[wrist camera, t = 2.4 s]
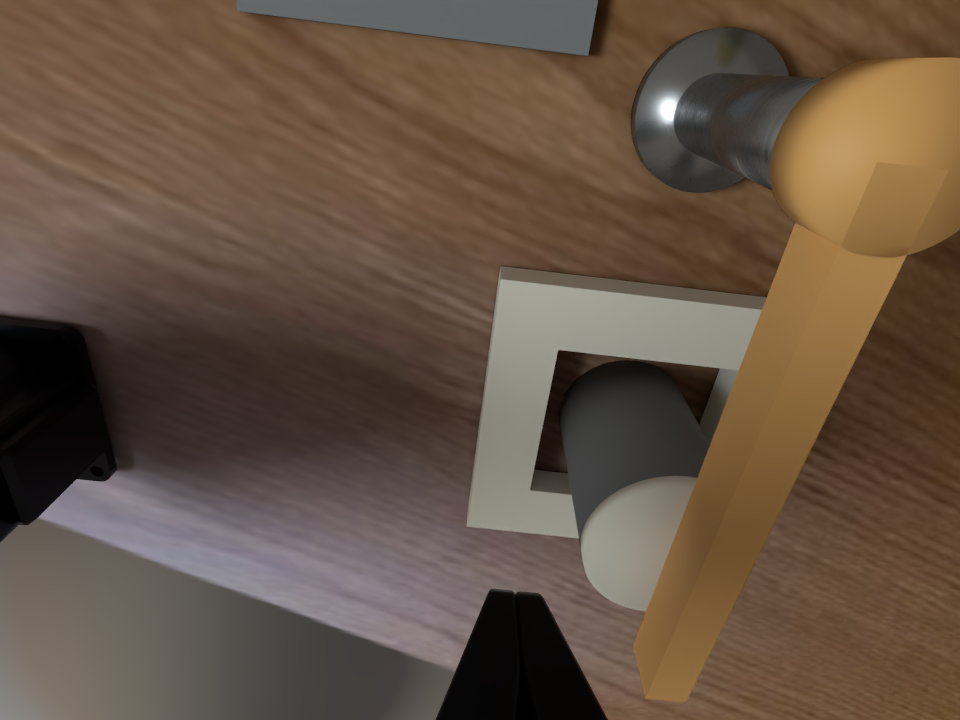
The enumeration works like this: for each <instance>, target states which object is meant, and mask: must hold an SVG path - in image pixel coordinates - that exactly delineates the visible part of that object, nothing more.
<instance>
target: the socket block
mask: <svg viewBox="0 0 960 720" xmlns="http://www.w3.org/2000/svg"><path fill="white" fill-rule="evenodd" d="M766 298H767V297H759V296H751V295H742V294H734V293H725V292H717V291H708V290H700V289H691V288H683V287H674V286H666V285H657V284H649V283H640V282H632V281H623V280H615V279H606V278H598V277H589V276H581V275H572V274H564V273H555V272H547V271H538V270H530V269H521V268H513V267H504V266H500V273H499V280H498V288H497V295H496V303H495V310H494V317H493V325H492V332H491V340H490V347H489V354H488V362H487V369H486V377H485V384H484V391H483V399H482V406H481V414H480V421H479V428H478V436H477V443H476V451H475V458H474V465H473V473H472V480H471V488H470V495H469V503H468V515H467V527H475V528H485V529H494V530H504V531H513V532H523V533H533V534H542V535H552V536H561V537H571V538H579V535H578V529H577V524H576V518H575V512H574V506H573V500H572V494H571V488H570V482H569V476H568V473H560V472H550V471H541V470H534V467H535V462H536V457H537V452H538V447H539V442H540V437H541V432H542V428H543V423H544V418H545V413H546V408H547V403H548V398H549V393H550V388H551V383H552V378H553V373H554V368H555V363H556V358H557V353H558V350H563V351H572V352H581V353H590V354H599V355H607V356H616V357H625V358H634V359H642V360H651V361H660V362H669V363H678V364H686V365H695V366H704V367H713V368H720V369H719V372H718V375H717V378H716V380H715V383H714V386H713V388H712V391H711V394H710V397H709V399H708V402H707V405H706V408H705V410H704V413H703V416H702V419H701V421H700V424H699V426H700V428H701V430H702V432H703V434H704V435H705V437H706V439H707V441H708V443H709V444H711V441H712V439H713V436H714V433H715V431H716V428H717V426H718V423H719V420H720V418H721V415H722V413H723V410H724V407H725V405H726V402H727V400H728V397H729V394H730V392H731V389H732V387H733V384H734V381H735V379H736V376H737V374H738V371H739V368H740V366H741V363H742V361H743V358H744V355H745V353H746V350H747V348H748V345H749V342H750V340H751V337H752V335H753V332H754V329H755V327H756V324H757V322H758V319H759V316H760V314H761V311H762V309H763V306H764V303H765V301H766Z"/></svg>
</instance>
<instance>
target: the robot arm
mask: <svg viewBox="0 0 960 720" xmlns="http://www.w3.org/2000/svg"><path fill="white" fill-rule="evenodd" d="M62 337H63V338H65V339H66V340H67V341H68V343H69V344H67V343H66V342H65V341H64V340H63V338H62ZM116 470H117V466H116V462H115V458H114V454H113V450H112V446H111V442H110V438H109V434H108V430H107V426H106V422H105V418H104V414H103V410H102V406H101V402H100V398H99V395H98V391H97V387H96V383H95V379H94V375H93V371H92V367H91V363H90V359H89V355H88V351H87V348H86V344H85V340H84V338H83V335H82V334H81V333H80V332H79V331H78V330H77V329H75V328H74V327H72V326H69V325H63V324H54V323H45V322H37V321H28V320H19V319H10V318H1V317H0V542H1V541H2V540H3V539H4V538H5V537H6V536H7V535H8V534H9V533H10V532H11V531H12V530H14V529H15V528H16V527H17V526H18V525H29V524H30V523H32V522H33V521H34V520H35V519H37V518H38V517H39V516H40V515H41V514H42V513H43V512H44V511H45V510H46V509H47V508H48V507H49V506H50V505H51V504H52V503H53V502H54V501H55V500H56V499H57V498H58V497H59V496H60V495H61V494H62V493H63V492H64V491H65V490H66V489H67V488H68V487H69V486H70V485H71V484H72V483H73V482H74V481H75V480H76V479H82V480H92V481H106V480H108V479H109V478H110V477H111V476H112V475H113V474H114V473H115V471H116ZM436 720H608V719H607V717H606V715H605V713H604V712H603V710H602V708H601V706H600V704H599V702H598V700H597V698H596V696H595V694H594V693H593V691H592V689H591V687H590V685H589V683H588V681H587V679H586V677H585V676H584V674H583V672H582V670H581V668H580V666H579V664H578V662H577V660H576V659H575V657H574V655H573V653H572V651H571V649H570V647H569V645H568V643H567V641H566V640H565V638H564V636H563V634H562V632H561V630H560V628H559V626H558V624H557V623H556V621H555V619H554V617H553V615H552V613H551V611H550V609H549V607H548V606H547V604H546V602H545V600H544V598H543V597H542V596H541V595H540V594H538V593H531V592H521V591H520V592H517V593H516V594H514V592H513V591H511V590H501V589H491V590H490V591H489V592H488V595H487V597H486V599H485V602H484V604H483V607H482V609H481V611H480V614H479V616H478V619H477V621H476V623H475V626H474V628H473V631H472V633H471V635H470V638H469V640H468V643H467V645H466V648H465V650H464V652H463V655H462V657H461V660H460V662H459V664H458V667H457V669H456V672H455V674H454V676H453V679H452V681H451V684H450V686H449V689H448V691H447V693H446V696H445V698H444V701H443V703H442V706H441V708H440V711H439V713H438V715H437V718H436Z"/></svg>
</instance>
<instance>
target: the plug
mask: <svg viewBox="0 0 960 720" xmlns="http://www.w3.org/2000/svg"><path fill="white" fill-rule="evenodd" d="M559 423H560V429H561V435H562V441H563V447H564V453H565V459H566V465H567V471H568V476H569V482H570V488H571V494H572V500H573V506H574V512H575V518H576V524H577V529H578V535H579V541H580V547H581V553H582V559H583V565H584V570H585V573H586V575H587V578H588V579H589V581H590V583H591V584H592V585H593V587H594V588H595V589H596V590H597V591H598V592H599V593H600V594H602V595H603V596H604V597H606V598H607V599H609V600H610V601H612V602H614V603H616V604H618V605H621V606H624V607H626V608H630V609H634V610H639V611H645V612H646V610H647V608H648V605H649V603H650V600H651V597H652V595H653V592H654V590H655V587H656V584H657V582H658V579H659V577H660V574H661V571H662V569H663V566H664V564H665V561H666V558H667V556H668V553H669V551H670V548H671V545H672V543H673V540H674V538H675V535H676V532H677V530H678V527H679V525H680V522H681V519H682V517H683V514H684V512H685V509H686V506H687V504H688V501H689V499H690V496H691V493H692V491H693V488H694V486H695V483H696V480H697V478H698V475H699V473H700V470H701V467H702V465H703V462H704V460H705V457H706V454H707V452H708V449H709V446H710V444H709V443H708V441H707V439H706V437H705V435H704V434H703V432H702V430H701V428H700V426H699V425H698V423H697V421H696V419H695V417H694V415H693V414H692V412H691V410H690V408H689V406H688V405H687V403H686V401H685V399H684V397H683V396H682V394H681V392H680V390H679V388H678V387H677V385H676V383H675V382H674V381H673V380H672V378H671V377H670V376H669V375H667V374H666V373H665V372H664V371H662V370H661V369H659V368H657V367H655V366H653V365H650V364H647V363H644V362H639V361H628V360H625V361H615V362H609V363H606V364H602V365H600V366H597V367H595V368H593V369H591V370H589V371H587V372H586V373H584V374H583V375H582V376H580V377H579V378H578V379H577V380H576V381H575V382H574V383H573V384H572V385H571V386H570V387H569V389H568V390H567V392H566V393H565V395H564V397H563V399H562V402H561V405H560V410H559Z"/></svg>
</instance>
